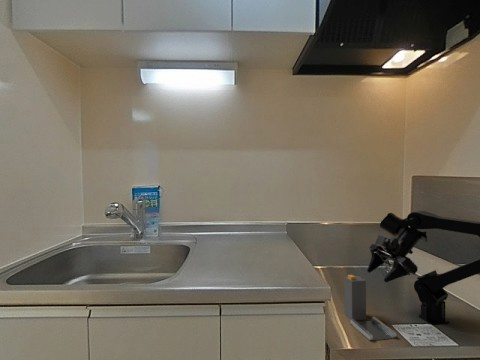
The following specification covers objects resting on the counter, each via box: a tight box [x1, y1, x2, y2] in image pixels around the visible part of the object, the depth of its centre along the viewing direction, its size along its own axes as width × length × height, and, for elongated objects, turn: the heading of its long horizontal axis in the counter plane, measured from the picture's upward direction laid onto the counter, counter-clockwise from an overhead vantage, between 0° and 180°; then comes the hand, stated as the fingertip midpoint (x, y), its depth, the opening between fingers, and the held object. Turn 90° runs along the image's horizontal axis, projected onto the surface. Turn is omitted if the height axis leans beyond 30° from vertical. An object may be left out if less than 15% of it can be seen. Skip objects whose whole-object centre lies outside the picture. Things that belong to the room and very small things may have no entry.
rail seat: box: [349, 316, 397, 342], centre depth 100 cm, size 8×11×2 cm
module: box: [343, 274, 367, 321], centre depth 109 cm, size 5×5×14 cm
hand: (376, 276), depth 110 cm, fingers open, 9 cm apart
